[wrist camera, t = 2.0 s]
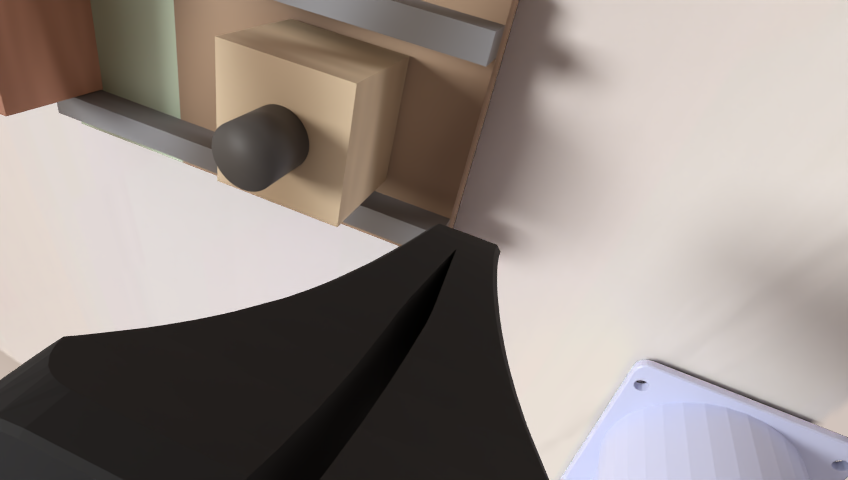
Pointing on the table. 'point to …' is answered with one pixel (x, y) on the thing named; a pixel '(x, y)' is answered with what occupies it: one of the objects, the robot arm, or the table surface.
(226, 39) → the slider
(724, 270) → the table surface
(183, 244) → the table surface
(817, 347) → the table surface
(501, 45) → the track
